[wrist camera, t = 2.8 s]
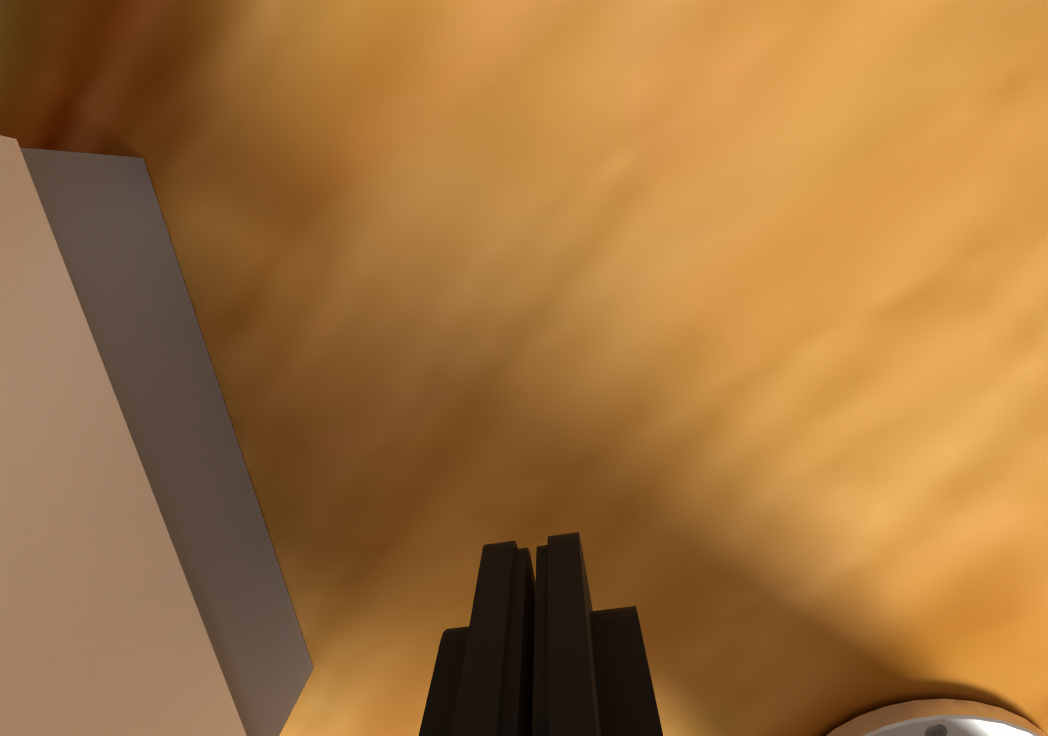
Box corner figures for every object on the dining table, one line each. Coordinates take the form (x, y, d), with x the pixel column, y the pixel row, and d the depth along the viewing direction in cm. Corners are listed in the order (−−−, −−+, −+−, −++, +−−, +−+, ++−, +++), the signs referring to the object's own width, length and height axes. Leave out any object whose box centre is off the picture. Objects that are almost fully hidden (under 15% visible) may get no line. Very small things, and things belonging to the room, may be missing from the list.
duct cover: (245, 801, 21) (268, 793, 21) (63, 1502, 9) (118, 1476, 10) (-19, 144, 15) (16, 138, 15) (-1378, -113, 3) (-1186, -125, 4)
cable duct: (313, 668, 27) (246, 798, 21) (55, 696, 28) (-75, 826, 22) (143, 157, 21) (-15, 144, 15) (-176, 222, 22) (-435, 233, 16)
